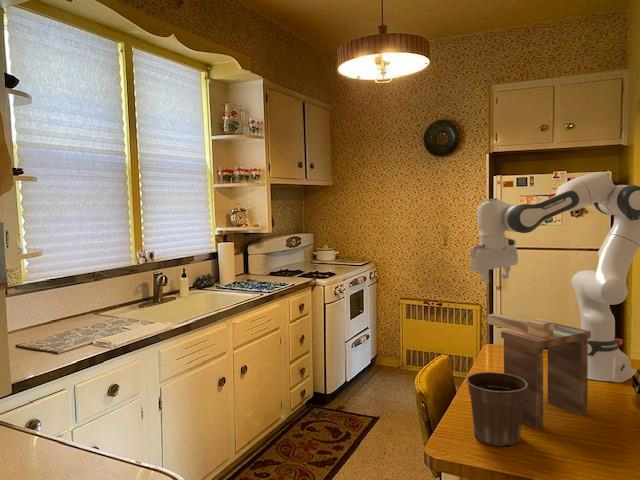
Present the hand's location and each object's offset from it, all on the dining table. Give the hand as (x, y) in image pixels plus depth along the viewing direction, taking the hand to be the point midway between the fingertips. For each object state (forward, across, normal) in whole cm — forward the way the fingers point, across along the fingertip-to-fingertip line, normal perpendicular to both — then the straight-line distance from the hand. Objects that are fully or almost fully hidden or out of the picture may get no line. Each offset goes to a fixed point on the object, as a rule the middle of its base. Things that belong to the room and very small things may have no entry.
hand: (496, 280), depth 181 cm
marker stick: (+12, -16, -24) cm, 31 cm away
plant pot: (+38, -36, -32) cm, 61 cm away
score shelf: (+38, -12, -28) cm, 49 cm away
